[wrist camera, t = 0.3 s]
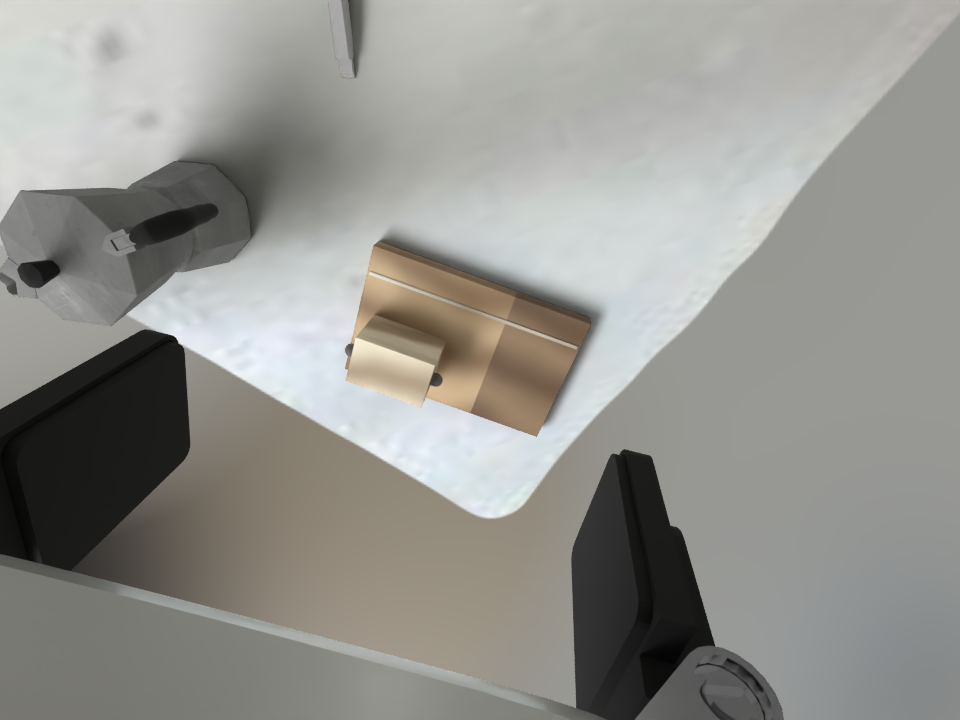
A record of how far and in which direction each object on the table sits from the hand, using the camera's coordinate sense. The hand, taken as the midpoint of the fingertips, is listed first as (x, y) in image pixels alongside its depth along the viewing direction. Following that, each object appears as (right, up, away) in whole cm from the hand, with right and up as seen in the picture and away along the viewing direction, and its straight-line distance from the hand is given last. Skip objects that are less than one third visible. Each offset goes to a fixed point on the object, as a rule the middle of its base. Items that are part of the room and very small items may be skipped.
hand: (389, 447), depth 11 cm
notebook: (0, +4, +38) cm, 39 cm away
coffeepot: (-22, +16, +36) cm, 45 cm away
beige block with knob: (-5, +3, +38) cm, 38 cm away
